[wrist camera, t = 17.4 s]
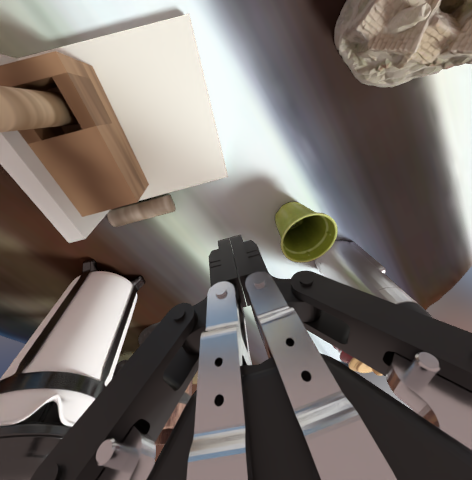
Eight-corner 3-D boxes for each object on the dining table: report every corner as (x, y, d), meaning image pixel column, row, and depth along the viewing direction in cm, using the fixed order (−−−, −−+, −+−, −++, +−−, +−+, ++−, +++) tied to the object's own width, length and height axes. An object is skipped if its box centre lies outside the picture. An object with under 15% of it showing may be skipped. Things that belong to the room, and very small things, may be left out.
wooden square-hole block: (92, 65, 22) (55, 51, 17) (149, 184, 30) (137, 202, 25) (31, 81, 22) (-27, 72, 17) (104, 196, 30) (82, 216, 25)
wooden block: (173, 198, 34) (167, 191, 32) (176, 213, 34) (170, 207, 31) (117, 213, 34) (106, 208, 32) (119, 228, 34) (108, 224, 31)
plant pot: (271, 242, 42) (286, 269, 35) (261, 202, 37) (276, 225, 30) (313, 227, 42) (337, 252, 35) (310, 185, 36) (337, 204, 29)
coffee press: (43, 264, 37) (-278, 589, 12) (133, 251, 38) (12, 517, 13) (89, 321, 46) (-36, 564, 22) (159, 308, 48) (117, 524, 23)
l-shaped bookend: (189, 18, 23) (184, -37, 14) (227, 174, 33) (237, 197, 24) (9, 65, 22) (-109, 38, 14) (103, 207, 33) (69, 243, 24)
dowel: (74, 91, 22) (-33, 73, 12) (91, 120, 23) (10, 126, 13) (50, 98, 22) (-78, 87, 12) (68, 127, 23) (-30, 139, 13)
